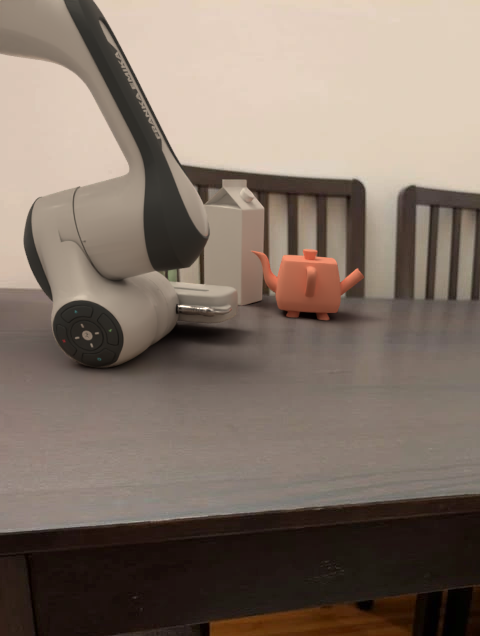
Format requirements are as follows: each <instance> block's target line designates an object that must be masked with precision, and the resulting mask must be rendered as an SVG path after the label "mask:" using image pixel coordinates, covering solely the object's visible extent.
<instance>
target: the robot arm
mask: <svg viewBox="0 0 480 636" xmlns="http://www.w3.org/2000/svg"><path fill="white" fill-rule="evenodd" d="M0 55H5V56H9V57H14V58H21V59H29V60H35V61H42V62H46V63H47V62H48V63H53V64H56V65H59V66H61V67H63V68H65V69H67V70H68V71H70V72H72V73H73V74H75V76H77V77H78V78H79V79H80V80H81V81H82V82H83V83H84V84H85V86H86V87H87V89H88V91H89V92H90V94H91V96H92V97H93V100H94V101H95V103H96V105H97V107H98V109H99V111H100V113H101V114H102V117H103V118H104V120H105V122H106V124H107V126H108V128H109V130H110V132H111V134H112V136H113V138H114V139H115V141H116V144H117V145H118V147H119V149H120V151H121V153H122V154H123V156H124V159H125V161H126V162H127V165H128V172H127V173H126V174H124V175H120V176H116V177H113V178H109V179H105V180H101V181H97V182H93V183H90V184H87V185H83V186H76V187H71V188H67V189H64V190H61V191H56V192H53V193H50V194H47V195H43V196H39V197H37V198H36V199H35V200H34V201H33V203H32V204H31V206H30V208H29V210H28V213H27V216H26V219H25V225H24V229H23V230H24V231H23V249H24V252H25V256H26V260H27V263H28V265H29V268H30V270H31V273H32V275H33V276H34V279H35V281H36V282H37V284H38V286H39V287H40V288H41V290H42V292H43V293H44V295H46V296H47V298H48V299H49V300H50V301H51V302H52V308H51V309H52V310H51V315H50V326H51V327H50V328H51V332H52V335H53V337H54V340H55V342H56V344H57V345H58V347H59V348H60V350H61V351H62V352H63V353H64V354H65V355H66V356H68V357H69V358H70V359H71V360H74V361H75V362H77V363H79V364H81V365H83V366H87V367H90V368H96V369H97V368H98V369H105V368H113V367H117V366H120V365H122V364H125V363H127V362H129V361H131V360H133V359H135V358H136V357H137V356H140V355H141V354H142V353H144V352H145V351H146V350H148V348H149V347H151V346H154V344H157V342H159V341H161V339H163V338H164V337H166V336H167V335H168V334H170V333H171V332H172V331H173V329H174V328H175V327H176V325H177V323H178V322H179V321H180V322H189V323H190V322H191V323H201V324H220V323H224V322H226V321H228V320H231V319H233V318H234V317H235V316H236V315H237V314H238V307H239V305H238V294H237V290H236V289H235V288H232V287H227V286H216V285H205V284H204V283H193V282H184V281H183V282H181V281H177V282H172V281H169V280H168V277H166V276H165V277H164V276H163V275H162V274H160V273H159V272H161V271H165V272H168V270H175V269H177V270H181V269H188V268H191V267H192V266H193V264H194V263H195V262H196V261H197V260H198V259H199V257H200V255H201V254H202V252H204V247H205V245H206V243H207V241H208V239H209V236H210V228H209V222H208V217H207V213H206V210H205V207H204V204H205V203H204V202H203V200H202V199H201V196H200V194H199V192H198V191H197V189H196V188H195V186H194V184H193V182H192V180H191V178H190V177H189V176H188V175H189V174H187V171H186V170H185V169H184V167H183V165H182V163H181V161H180V160H179V158H178V157H177V155H176V153H175V151H174V149H173V148H172V146H171V144H170V141H169V140H168V137H167V136H166V134H165V132H164V130H163V127H162V126H161V124H160V122H159V119H158V117H157V115H156V113H155V111H154V110H153V108H152V105H151V104H150V101H149V100H148V97H147V95H146V93H145V91H144V90H143V87H142V86H141V84H140V82H139V78H137V75H136V73H135V71H134V70H133V67H132V66H131V64H130V62H129V60H128V58H127V56H126V54H125V52H124V50H123V48H122V45H121V44H120V42H119V39H117V37H116V35H115V33H114V31H113V29H112V27H111V26H110V24H109V22H108V21H107V18H106V17H105V16H104V14H103V12H102V11H101V9H100V8H99V6H98V5H97V3H96V2H95V0H0Z"/></svg>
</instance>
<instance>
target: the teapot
mask: <svg viewBox="0 0 480 636" xmlns="http://www.w3.org/2000/svg"><path fill="white" fill-rule="evenodd" d="M252 252H253V253H254V254H255V255H257V256H258V258H259V259H260V261H261V264H262V268H263V280H264V282H265V285H266V286H267V288H268V289H269V290H270V291H272V292H273V293H274V296H275V300H276V305H277V308H278V309H279V310H281V311H285V312H287V313H286V314H285V316H286V317H287V318H299V316H300V313H315V315H316V319H317V320H319V321H329V320H330V317H329V314H336V313H338V311H339V309H340V306H341V303H342V302H341V301H342V296H343V295H344V294H345V293H347V292H348V291H349V290H350V289H352V288H353V287H354V286H356V285H357V284H358V283H359V282H361V281H362V280H363V279H365V276H364V274H363V273H362V271H360V269H359V267H357V268H356V269H354V270H353V271H352V272H351V273H350V274H348V275H347V276H346V277H345V278H344V279H342V280H341V277H340V271H339V266H338V265H339V264H338V262H337V260H336V259H335V258H334V257H327V256H326V257H324V256H318V250H317V249H313V248H304V249H302V254H303V255H300V254H299V255H298V254H283V255H282V258H281V260H280V264H279V268H278V273H277V275H275V274H274V273H273V271H272V269H271V264H270V260H269V258H268V255H267V254H265V253H264V252H263V253H261V252H257V251H252Z"/></svg>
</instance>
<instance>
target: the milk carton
mask: <svg viewBox="0 0 480 636" xmlns="http://www.w3.org/2000/svg"><path fill="white" fill-rule="evenodd" d="M221 180H222V181H221V183H222V185H221V187H220V189H219V190H218V191H217V192H216V193H215V194H213V195H212V196H211V197H210V198H209V199H208V200H207V201H206V202H205V203H203V204H204V207H205V210H206V213H207V217H208V222H209V228H210V236H209V239H208V241H207V243H206V245H205V247H204V249H203V255H204V256H203V258H204V259H203V275H204V276H203V281H204V282H203V284H205V285H216V286H227V287H232V288H235V289H236V290H237V294H238V306H245V305H249V304H252V303H257V302H261V301H263V283H264V281H263V280H264V275H263V268H262V264H261V261H260V259H259V258H258V256H257V255H255V254H254V253H253V252H252V251H257V252H261V253H264V243H265V242H264V241H265V207H264V206H263V205H262V203H261V202H260V201H259V200H258V198H257V197H256V196H255V195H254V193H253V192H252V191H251V190H250V189H249V188H248V186H247V183H248V180H247V179H221Z"/></svg>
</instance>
